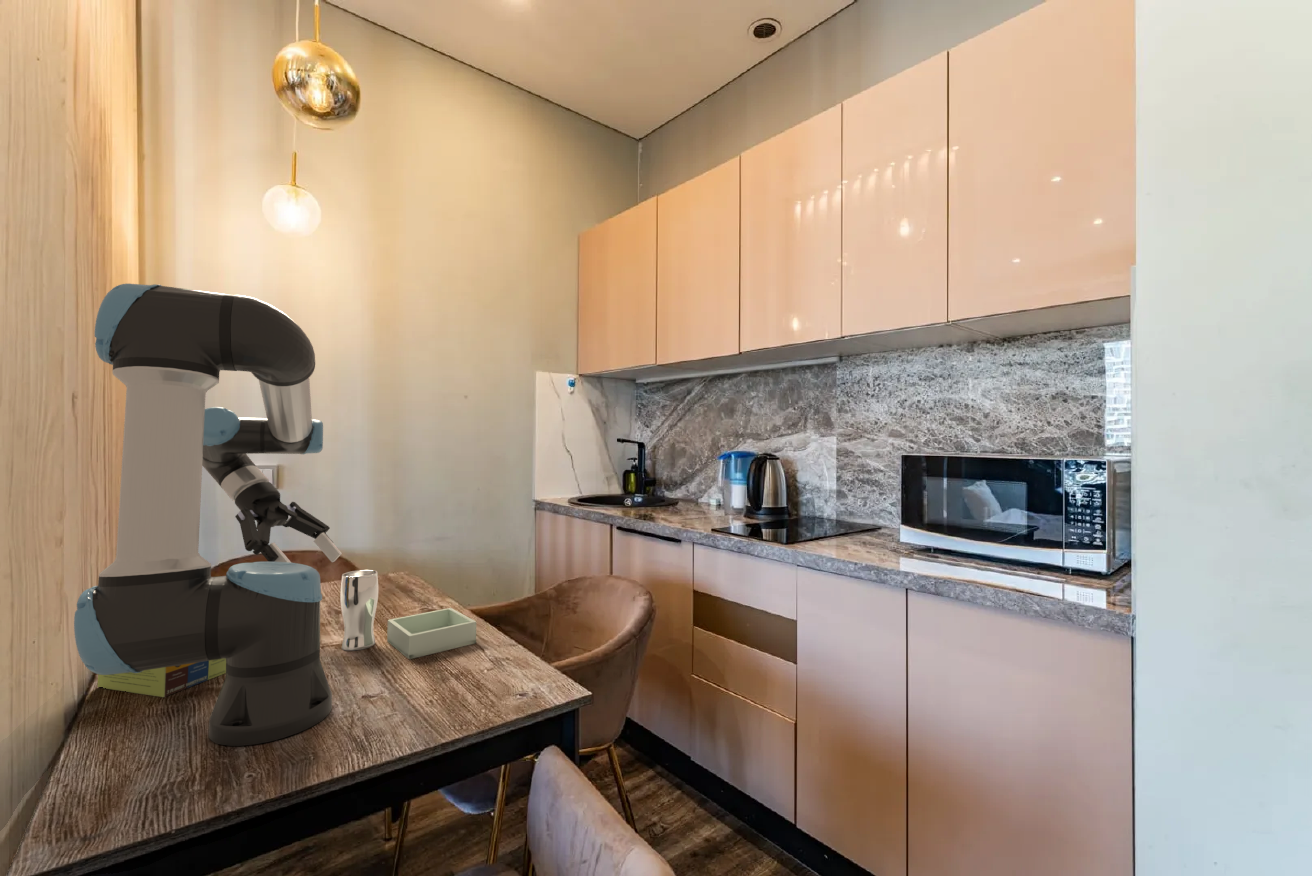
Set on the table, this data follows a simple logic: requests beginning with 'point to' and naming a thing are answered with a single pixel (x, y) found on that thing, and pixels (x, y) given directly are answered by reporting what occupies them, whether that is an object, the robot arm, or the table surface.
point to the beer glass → (359, 608)
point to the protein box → (164, 678)
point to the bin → (431, 632)
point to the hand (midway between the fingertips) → (314, 564)
